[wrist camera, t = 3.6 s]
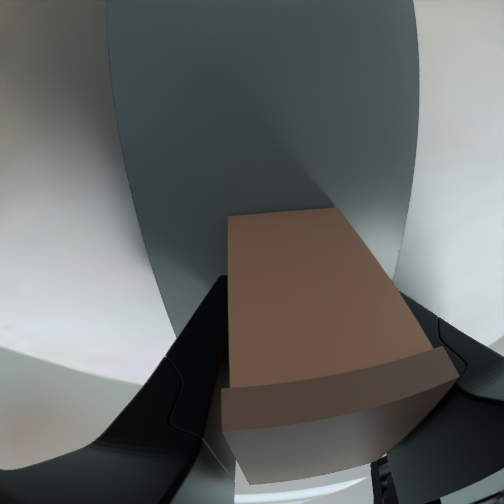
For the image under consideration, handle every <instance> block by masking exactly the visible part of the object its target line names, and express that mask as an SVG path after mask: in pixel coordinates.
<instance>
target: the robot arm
mask: <svg viewBox="0 0 504 504" xmlns="http://www.w3.org/2000/svg"><path fill="white" fill-rule="evenodd" d="M399 293H400V294H401V296H402V298H403V299H404V301H405V302H406V304H407V305H408V307H409V308H410V310H411V312H412V313H413V315H414V316H415V318H416V320H417V321H418V323H419V325H420V326H421V328H422V330H423V331H424V333H425V335H426V336H427V338H428V340H429V341H430V343H431V345H432V347H433V348H434V349H435V348H438V347H441V346H443V347H444V349H445V351H446V353H447V354H448V356H449V358H450V360H451V361H452V363H453V365H454V367H455V369H456V370H457V372H458V374H459V376H460V377H459V378H458V379H457V380H456V382H455V383H454V384H453V385H452V387H451V388H450V389H449V390H448V391H447V393H446V394H445V395H444V396H443V397H442V398H441V400H440V401H439V402H438V403H437V404H436V405H435V406H434V407H433V408H432V410H431V411H430V412H429V413H428V414H427V415H426V416H425V417H424V418H423V419H422V420H421V421H420V422H419V423H418V424H417V425H416V426H415V427H414V428H413V429H412V430H411V431H410V432H409V433H408V434H407V435H406V436H405V437H404V438H403V439H402V440H400V441H399V442H398V443H397V444H396V445H395V446H394V447H393V448H391V449H390V450H389V451H388V452H387V456H385V457H382V458H380V459H378V460H377V461H374V462H371V465H370V466H371V476H372V486H373V495H374V504H504V357H503V356H501V355H500V354H498V353H497V352H495V351H493V350H491V349H490V348H488V347H486V346H485V345H483V344H481V343H479V342H478V341H476V340H474V339H473V338H471V337H469V336H468V335H466V334H464V333H463V332H461V331H459V330H458V329H456V328H455V327H453V326H452V325H450V324H449V323H447V322H446V321H444V320H443V319H441V318H440V317H437V315H435V314H434V313H432V312H431V311H429V310H428V309H426V308H425V307H423V306H422V305H420V304H419V303H417V302H416V301H414V300H412V299H411V298H409V297H408V296H406V295H405V294H403V293H402V292H400V291H399ZM165 356H166V357H164V358H163V359H162V361H161V362H160V364H159V365H158V366H157V368H156V369H155V371H154V372H153V373H152V375H151V376H150V378H149V379H148V380H147V382H146V383H145V384H144V386H143V387H142V388H141V389H140V391H139V392H138V393H137V394H136V395H135V397H134V398H133V399H132V400H131V401H130V402H129V404H128V405H127V406H126V407H125V408H124V409H123V410H122V412H121V413H120V414H119V415H118V416H117V417H116V419H115V420H114V421H113V422H112V423H111V424H110V425H109V427H108V428H107V429H106V430H105V431H104V432H103V433H102V434H101V435H100V436H99V437H98V438H97V439H96V440H94V441H93V442H91V443H90V444H88V445H87V446H85V447H83V448H80V449H78V450H75V451H72V452H70V453H67V454H64V455H61V456H59V457H56V458H53V459H50V460H47V461H43V462H40V463H37V464H34V465H30V466H27V467H24V468H19V469H14V470H2V469H0V504H234V488H235V482H234V480H235V466H236V458H235V456H234V454H233V452H232V450H231V448H230V446H229V444H228V442H227V440H226V438H225V436H224V434H223V432H222V407H221V389H223V388H230V368H229V326H228V274H225V275H220V276H219V277H218V279H217V280H216V282H215V283H214V284H213V286H212V287H211V289H210V290H209V292H208V293H207V295H206V296H205V298H204V299H203V300H202V302H201V303H200V305H199V306H198V308H197V309H196V311H195V312H194V314H193V315H192V317H191V318H190V319H189V321H188V322H187V324H186V325H185V327H184V328H183V330H182V331H181V333H180V334H179V336H178V337H177V339H176V340H175V341H174V343H173V344H172V346H171V347H170V349H169V350H168V352H167V353H166V355H165Z"/></svg>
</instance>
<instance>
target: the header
mask: <svg viewBox="0 0 504 504" xmlns="http://www.w3.org/2000/svg"><path fill="white" fill-rule="evenodd" d="M106 4H107V35H108V51H109V63H110V73H111V82H112V90H113V98H114V105H115V112H116V119H117V125H118V131H119V136H120V142H121V147H122V152H123V157H124V162H125V167H126V172H127V176H128V181H129V185H130V190H131V194H132V198H133V202H134V206H135V210H136V214H137V218H138V222H139V225H140V229H141V233H142V236H143V240H144V243H145V247H146V250H147V253H148V257H149V260H150V263H151V266H152V270H153V273H154V276H155V279H156V282H157V285H158V288H159V291H160V294H161V297H162V300H163V303H164V305H165V308H166V311H167V314H168V317H169V319H170V322H171V325H172V327H173V330H174V333H175V335H176V338H177V337H178V336H179V334H180V333H181V331H182V330H183V328H184V327H185V325H186V324H187V322H188V321H189V319H190V318H191V317H192V315H193V314H194V312H195V311H196V309H197V308H198V306H199V305H200V303H201V302H202V300H203V299H204V298H205V296H206V295H207V293H208V292H209V290H210V289H211V287H212V286H213V284H214V283H215V282H216V280H217V279H218V277H219V276H220V275H225V274H228V216H238V215H249V214H260V213H271V212H283V211H296V210H309V209H324V208H338V209H339V210H340V211H341V213H342V214H343V215H344V216H345V218H346V219H347V220H348V222H349V223H350V224H351V226H352V227H353V228H354V229H355V231H356V232H357V233H358V235H359V236H360V237H361V239H362V240H363V241H364V243H365V244H366V245H367V247H368V248H369V250H370V251H371V252H372V254H373V255H374V257H375V258H376V259H377V261H378V262H379V264H380V265H381V266H382V268H383V269H384V271H385V272H386V274H387V275H388V277H389V278H390V279H391V281H392V279H393V275H394V271H395V267H396V264H397V259H398V255H399V251H400V247H401V242H402V238H403V233H404V228H405V223H406V218H407V213H408V207H409V201H410V195H411V189H412V182H413V174H414V166H415V157H416V147H417V135H418V120H419V53H418V39H417V28H416V18H415V11H414V3H413V0H106Z"/></svg>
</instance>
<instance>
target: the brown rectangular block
mask: <svg viewBox="0 0 504 504" xmlns="http://www.w3.org/2000/svg"><path fill="white" fill-rule="evenodd" d="M228 326H229V368H230V388H223V389H221V407H222V432H223V434H224V436H225V438H226V440H227V442H228V444H229V446H230V448H231V450H232V452H233V454H234V456H235V458H236V460H237V462H238V464H239V466H240V468H241V470H242V471H243V473H244V475H245V477H246V479H247V481H248V483H249V484H250V485H253V484H266V483H275V482H283V481H291V480H297V479H304V478H309V477H315V476H320V475H324V474H329V473H334V472H338V471H342V470H346V469H350V468H354V467H357V466H361V465H364V464H368V463H371V462H374V461H377V460H378V459H380V458H381V457H382V456H383V455H384V454H386V453H387V452H388V451H389V450H390V449H391V448H393V447H394V446H395V445H396V444H397V443H398V442H399V441H400V440H402V439H403V438H404V437H405V436H406V435H407V434H408V433H409V432H410V431H411V430H412V429H413V428H414V427H415V426H416V425H417V424H418V423H419V422H420V421H421V420H422V419H423V418H424V417H425V416H426V415H427V414H428V413H429V412H430V411H431V410H432V408H433V407H434V406H435V405H436V404H437V403H438V402H439V401H440V400H441V398H442V397H443V396H444V395H445V394H446V393H447V391H448V390H449V389H450V388H451V387H452V385H453V384H454V383H455V382H456V380H457V379H458V378H459V377H460V376H459V374H458V372H457V370H456V369H455V367H454V365H453V363H452V361H451V360H450V358H449V356H448V354H447V353H446V351H445V349H444V347H443V346H441V347H438V348H435V349H434V348H433V347H432V345H431V343H430V341H429V340H428V338H427V336H426V335H425V333H424V331H423V330H422V328H421V326H420V325H419V323H418V321H417V320H416V318H415V316H414V315H413V313H412V312H411V310H410V308H409V307H408V305H407V304H406V302H405V301H404V299H403V298H402V296H401V294H400V293H399V291H398V290H397V288H396V287H395V285H394V284H393V282H392V281H391V279H390V278H389V277H388V275H387V274H386V272H385V271H384V269H383V268H382V266H381V265H380V264H379V262H378V261H377V259H376V258H375V257H374V255H373V254H372V252H371V251H370V250H369V248H368V247H367V245H366V244H365V243H364V241H363V240H362V239H361V237H360V236H359V235H358V233H357V232H356V231H355V229H354V228H353V227H352V226H351V224H350V223H349V222H348V220H347V219H346V218H345V216H344V215H343V214H342V213H341V211H340V210H339V209H338V208H324V209H309V210H296V211H283V212H271V213H260V214H249V215H238V216H228Z"/></svg>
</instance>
